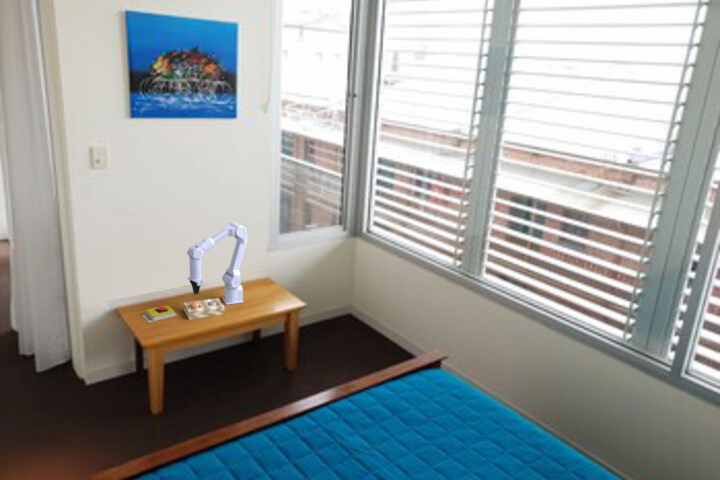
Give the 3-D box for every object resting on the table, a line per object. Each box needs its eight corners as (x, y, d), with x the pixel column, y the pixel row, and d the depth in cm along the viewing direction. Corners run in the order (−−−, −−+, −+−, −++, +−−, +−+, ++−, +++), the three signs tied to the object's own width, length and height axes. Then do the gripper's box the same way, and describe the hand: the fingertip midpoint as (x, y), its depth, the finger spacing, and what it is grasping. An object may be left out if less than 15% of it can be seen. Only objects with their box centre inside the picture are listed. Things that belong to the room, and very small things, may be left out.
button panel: (218, 304, 304) (217, 298, 302) (224, 313, 294) (224, 307, 293) (183, 309, 295) (183, 302, 294) (189, 319, 285) (189, 312, 284)
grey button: (215, 307, 299) (215, 300, 298) (217, 310, 296) (217, 303, 294) (207, 308, 297) (207, 301, 296) (209, 312, 294) (209, 305, 293)
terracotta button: (198, 307, 294) (198, 300, 293) (200, 311, 291) (200, 304, 290) (190, 309, 292) (190, 302, 291) (192, 312, 289) (192, 305, 288)
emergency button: (177, 308, 287) (148, 315, 278) (177, 316, 289) (148, 323, 279) (170, 301, 294) (141, 308, 284) (170, 309, 295) (141, 316, 286)
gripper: (184, 265, 293) (184, 289, 297) (191, 275, 281) (191, 300, 285) (197, 263, 296) (198, 287, 301) (205, 273, 285) (205, 298, 289)
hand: (196, 293), depth 293 cm, fingers closed
